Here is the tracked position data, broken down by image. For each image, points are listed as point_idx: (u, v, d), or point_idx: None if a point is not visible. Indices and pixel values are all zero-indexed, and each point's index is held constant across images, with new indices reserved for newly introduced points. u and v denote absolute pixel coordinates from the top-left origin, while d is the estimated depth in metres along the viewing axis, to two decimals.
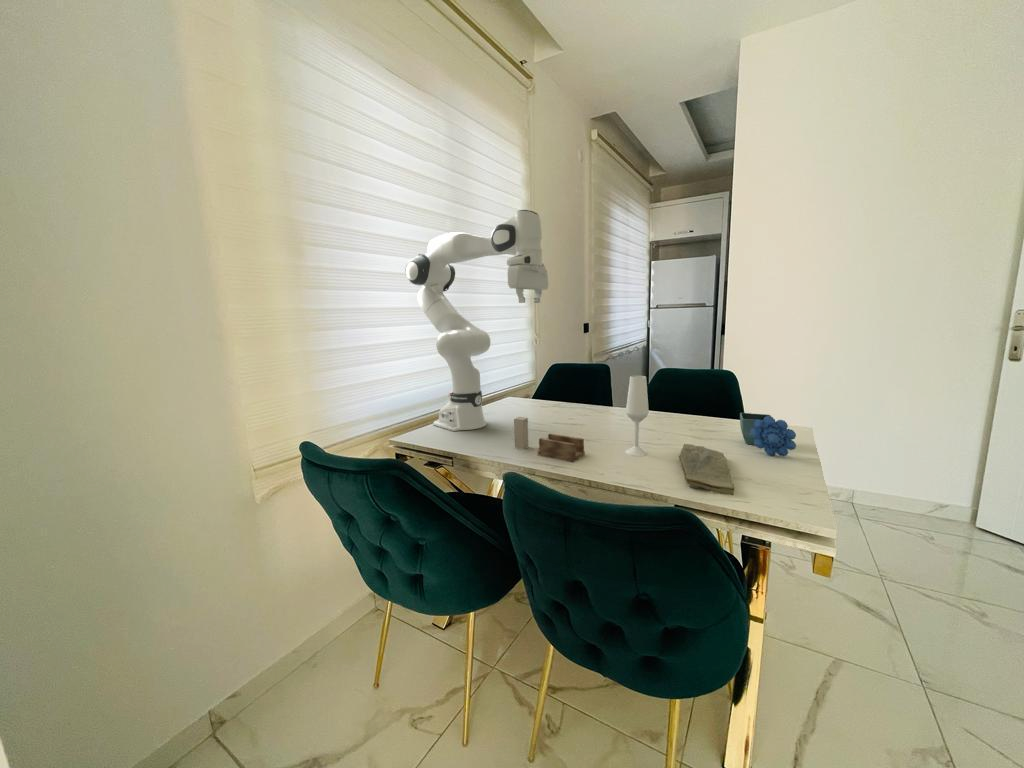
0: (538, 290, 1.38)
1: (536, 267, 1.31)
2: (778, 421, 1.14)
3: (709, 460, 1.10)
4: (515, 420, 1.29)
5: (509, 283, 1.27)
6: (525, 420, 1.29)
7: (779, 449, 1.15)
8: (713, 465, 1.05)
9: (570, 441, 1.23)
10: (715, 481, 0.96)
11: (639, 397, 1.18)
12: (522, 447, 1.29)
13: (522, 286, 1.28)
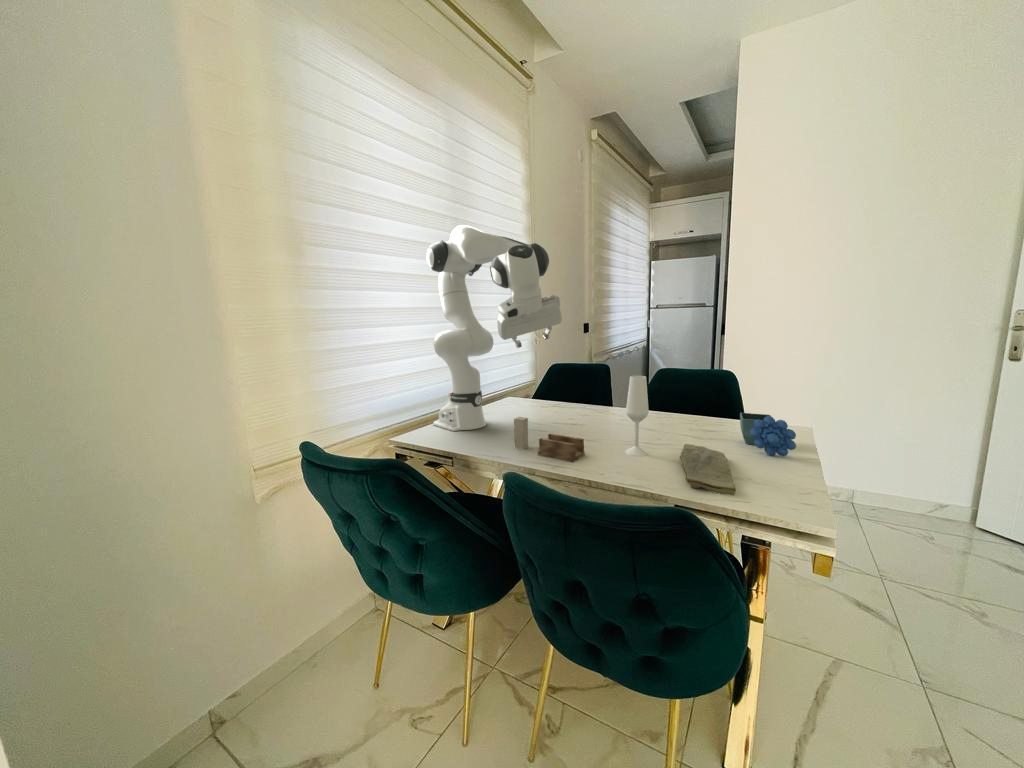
0: None
1: (531, 313, 1.16)
2: (778, 421, 1.14)
3: (710, 460, 1.10)
4: (515, 420, 1.29)
5: None
6: (525, 420, 1.29)
7: (779, 449, 1.15)
8: (714, 465, 1.05)
9: (570, 441, 1.23)
10: (716, 481, 0.96)
11: (639, 397, 1.18)
12: (522, 447, 1.29)
13: (512, 336, 1.20)
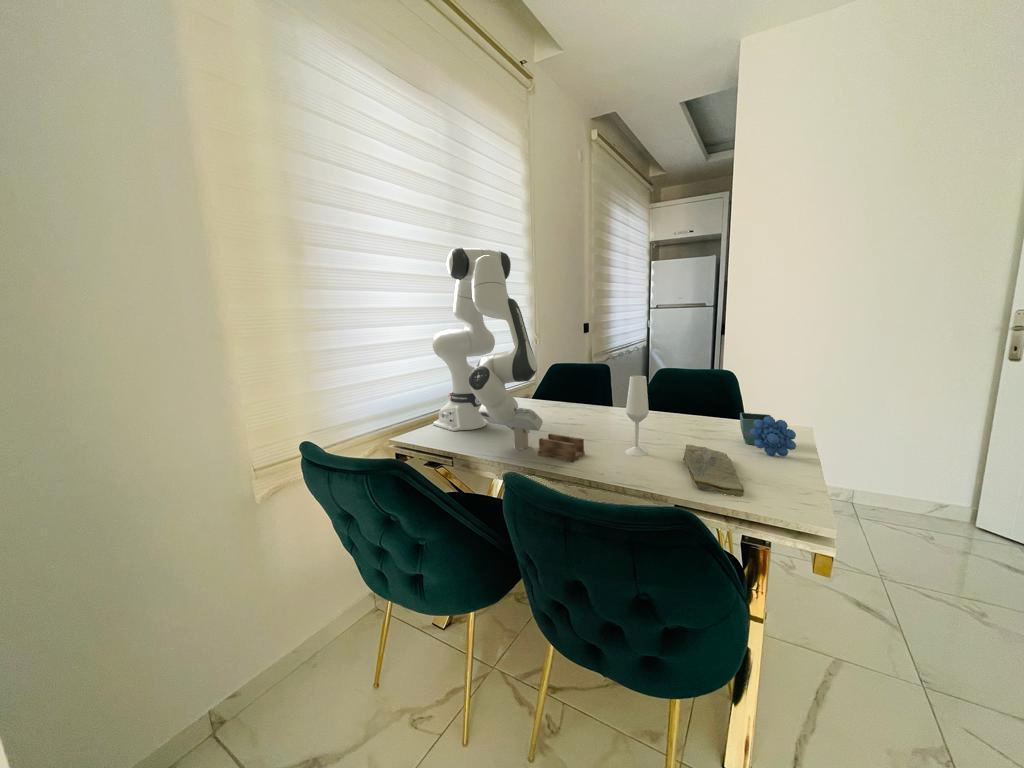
0: None
1: None
2: (778, 421, 1.14)
3: (714, 461, 1.09)
4: None
5: None
6: None
7: (779, 449, 1.15)
8: (719, 466, 1.04)
9: (570, 441, 1.23)
10: (724, 482, 0.95)
11: (639, 397, 1.18)
12: (522, 447, 1.29)
13: (496, 423, 1.30)
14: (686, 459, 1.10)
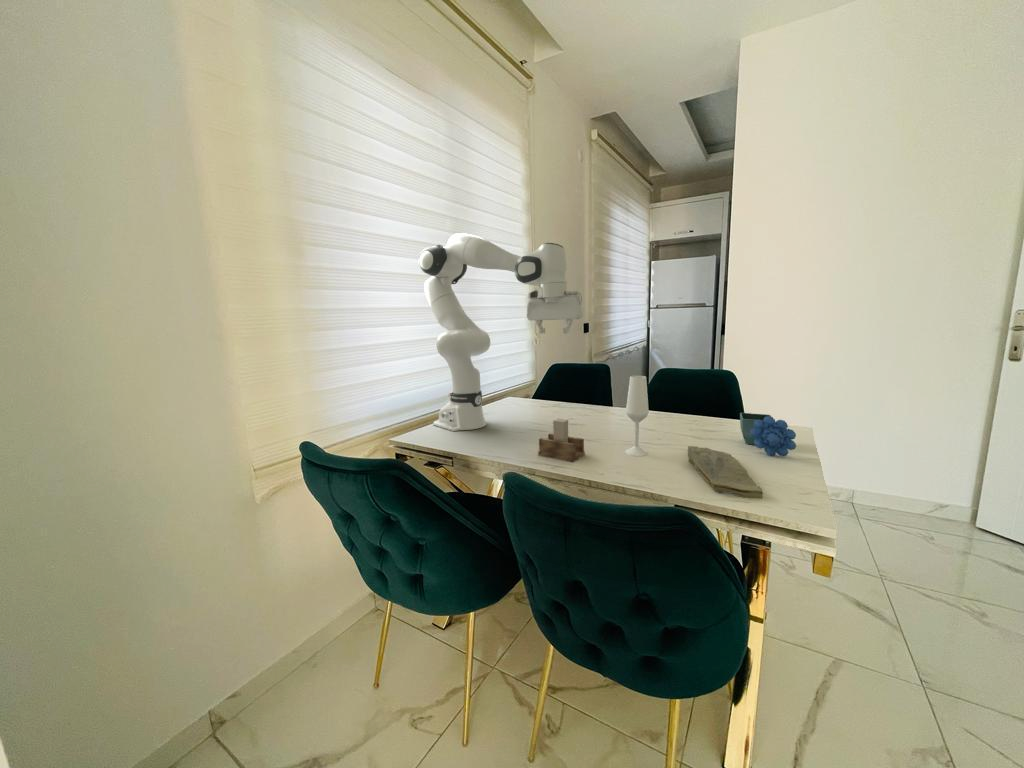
0: None
1: (548, 299, 1.32)
2: (778, 421, 1.15)
3: (721, 462, 1.08)
4: (555, 422, 1.21)
5: None
6: (565, 422, 1.20)
7: (779, 449, 1.15)
8: (729, 467, 1.03)
9: (570, 441, 1.23)
10: (741, 485, 0.94)
11: (639, 397, 1.18)
12: None
13: (534, 319, 1.38)
14: (695, 461, 1.08)
